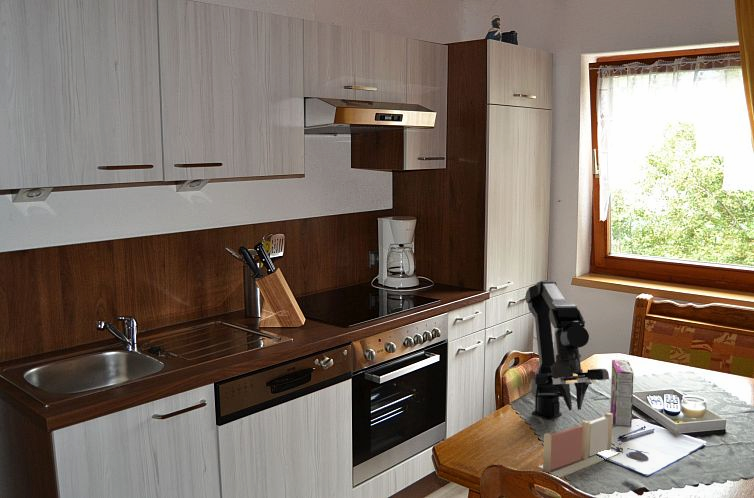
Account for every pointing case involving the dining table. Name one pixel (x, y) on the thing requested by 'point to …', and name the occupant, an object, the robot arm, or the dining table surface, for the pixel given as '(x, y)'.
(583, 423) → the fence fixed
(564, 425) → the dining table surface
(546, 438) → the panel
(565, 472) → the card
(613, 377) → the candy bar box
